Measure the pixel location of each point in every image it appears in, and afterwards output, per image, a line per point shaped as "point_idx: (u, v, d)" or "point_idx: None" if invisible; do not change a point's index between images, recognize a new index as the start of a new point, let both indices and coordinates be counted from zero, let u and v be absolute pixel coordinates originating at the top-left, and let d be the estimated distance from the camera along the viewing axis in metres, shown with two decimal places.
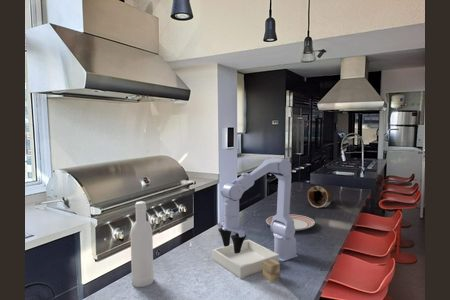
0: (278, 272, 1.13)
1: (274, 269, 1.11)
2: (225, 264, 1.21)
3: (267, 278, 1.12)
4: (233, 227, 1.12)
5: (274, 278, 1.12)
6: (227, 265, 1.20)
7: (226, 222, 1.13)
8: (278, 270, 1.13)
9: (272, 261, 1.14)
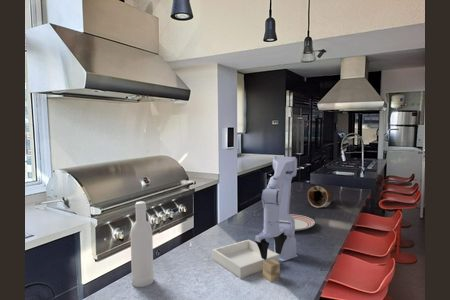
0: (278, 272, 1.13)
1: (274, 269, 1.11)
2: (225, 264, 1.21)
3: (267, 278, 1.12)
4: (264, 231, 1.11)
5: (274, 278, 1.12)
6: (227, 265, 1.20)
7: None
8: (278, 270, 1.13)
9: (272, 261, 1.14)
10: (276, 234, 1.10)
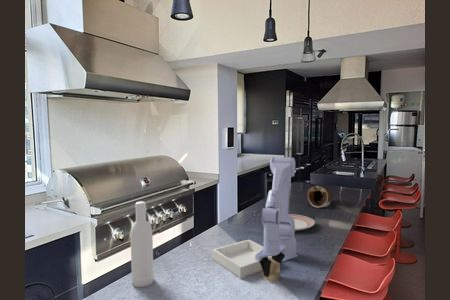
0: (278, 272, 1.13)
1: (274, 268, 1.11)
2: (225, 264, 1.21)
3: (267, 278, 1.12)
4: (264, 250, 1.12)
5: (274, 278, 1.12)
6: (227, 265, 1.20)
7: None
8: (278, 270, 1.13)
9: (272, 261, 1.14)
10: (276, 253, 1.10)
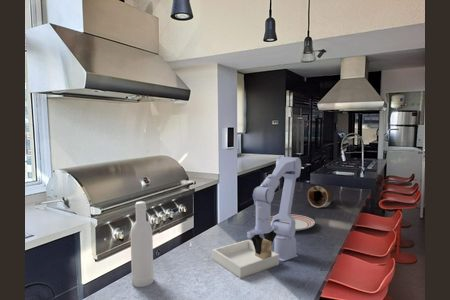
0: (270, 250, 1.16)
1: (266, 246, 1.14)
2: (225, 264, 1.21)
3: (259, 256, 1.15)
4: (256, 228, 1.15)
5: (266, 256, 1.15)
6: (227, 265, 1.20)
7: None
8: (270, 248, 1.16)
9: (264, 240, 1.18)
10: (267, 231, 1.14)
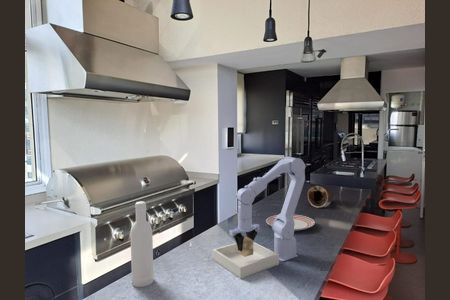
0: (252, 248, 1.25)
1: (248, 245, 1.24)
2: (225, 264, 1.21)
3: (242, 253, 1.25)
4: (238, 227, 1.25)
5: (248, 253, 1.24)
6: (227, 265, 1.20)
7: None
8: (252, 246, 1.25)
9: (247, 238, 1.27)
10: (248, 229, 1.23)
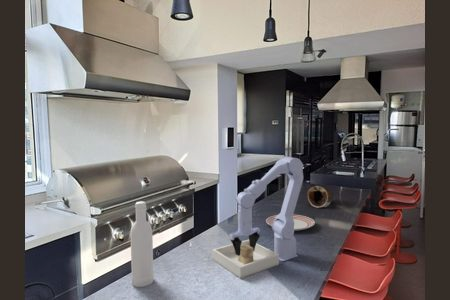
0: (252, 256, 1.25)
1: (247, 252, 1.24)
2: (225, 264, 1.21)
3: (242, 261, 1.25)
4: (238, 230, 1.25)
5: (248, 261, 1.24)
6: (227, 265, 1.20)
7: None
8: (252, 254, 1.25)
9: (247, 246, 1.27)
10: (248, 233, 1.23)
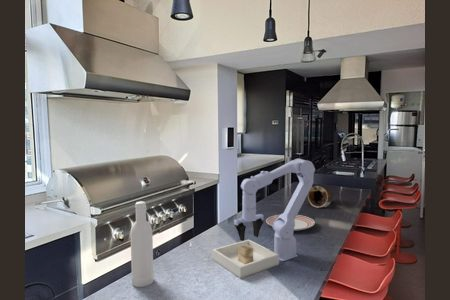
0: (252, 256, 1.25)
1: (247, 252, 1.24)
2: (225, 264, 1.21)
3: (242, 261, 1.25)
4: (242, 216, 1.27)
5: (248, 261, 1.24)
6: (227, 265, 1.20)
7: None
8: (252, 254, 1.25)
9: (247, 246, 1.27)
10: (252, 219, 1.25)
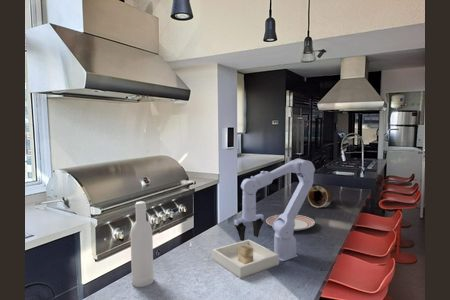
0: (252, 256, 1.25)
1: (247, 252, 1.24)
2: (225, 264, 1.21)
3: (242, 261, 1.25)
4: (242, 216, 1.27)
5: (248, 261, 1.24)
6: (227, 265, 1.20)
7: None
8: (252, 254, 1.25)
9: (247, 246, 1.27)
10: (252, 219, 1.25)
